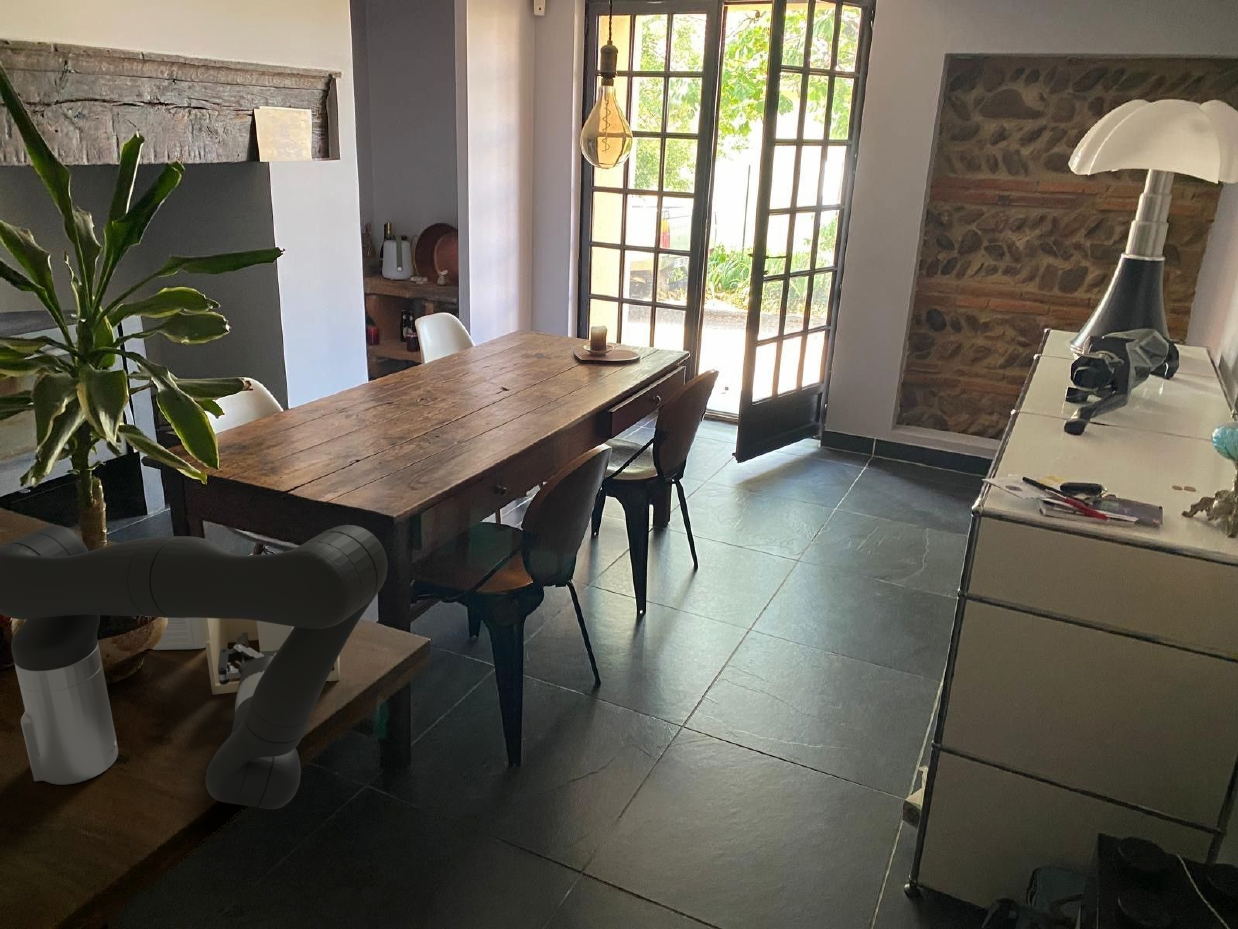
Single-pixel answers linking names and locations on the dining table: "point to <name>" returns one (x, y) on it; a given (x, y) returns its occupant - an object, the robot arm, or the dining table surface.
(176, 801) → the dining table surface
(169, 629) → the photo printer
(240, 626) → the storage bin
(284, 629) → the box
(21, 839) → the dining table surface
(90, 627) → the robot arm
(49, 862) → the dining table surface
